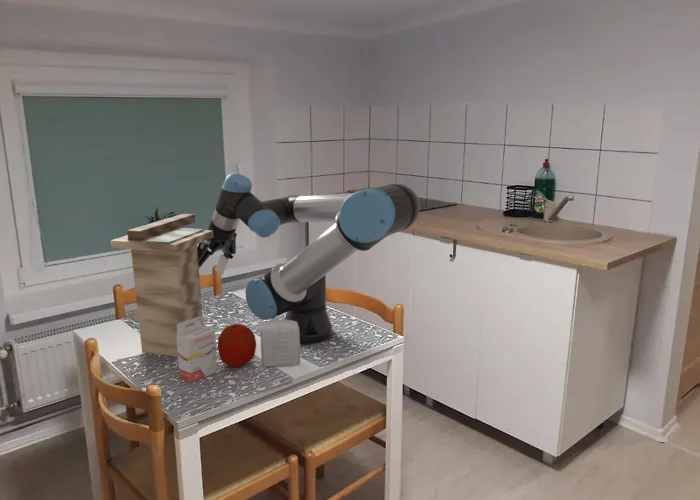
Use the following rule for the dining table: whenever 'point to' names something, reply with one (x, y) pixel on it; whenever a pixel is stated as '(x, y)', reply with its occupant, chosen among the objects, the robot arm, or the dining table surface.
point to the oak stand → (165, 284)
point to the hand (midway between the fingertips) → (204, 279)
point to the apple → (236, 345)
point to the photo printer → (280, 343)
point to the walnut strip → (160, 227)
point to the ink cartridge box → (196, 350)
